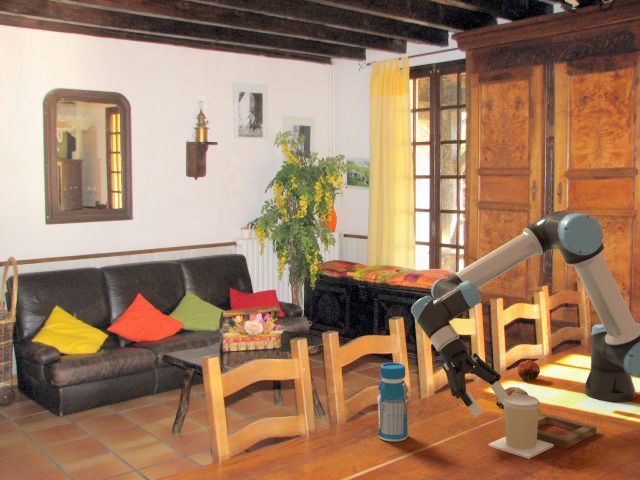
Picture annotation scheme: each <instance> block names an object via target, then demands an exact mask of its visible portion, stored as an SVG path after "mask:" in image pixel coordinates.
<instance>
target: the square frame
mask: <svg viewBox="0 0 640 480" xmlns="http://www.w3.org/2000/svg"><path fill="white" fill-rule="evenodd" d="M545 425H550V426H551V425H552V426H555V427H558V428H562V429H566V430H569V431H571V432H568V433H567V434H565V435H559V434H556V433H552V432H549V431H545V430H542V429H538V430H537V440H541V441H544V442H547V443H551V444H554V447H555V446H556V447H559V448H563V449H568V448H570V447H573V446H575V445H576V444H578V443H581V442H582V441H584V440H587V439H588V438H590V437H592V436H594V435H597V425H593V424H588V423H585V422H581V421H577V420H574V419H569V418H566V417H562V416H558V415H553V414H551V413H546V412H542V413H539V419H538V428H540V427H543V426H545Z"/></svg>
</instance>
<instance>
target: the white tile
mask: <svg viewBox="0 0 640 480" xmlns="http://www.w3.org/2000/svg"><path fill="white" fill-rule="evenodd" d="M488 447H490V448H492V449H497V450H499V451H503V452H506V453H509V454H512V455H516V456H518V457H522V458H524V459H527V460H529V459H531V458H534V457H535V456H538V455H540V454H541V453H544V452H545V451H548V450H551V448H552V449H553V448H554V447H555V445H554V444H551V443H547V442H544V441H541V440H537V441H536V446H535V447H534V448H532V449H516V448H512V447H510V446H508V445H507V444H506V437H505V436H503V437H501V438H499V439H496V440H495V441H492V442H489V443H488Z"/></svg>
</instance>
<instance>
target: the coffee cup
mask: <svg viewBox="0 0 640 480" xmlns="http://www.w3.org/2000/svg"><path fill="white" fill-rule="evenodd" d="M503 404H504V410H503V420H504V435H505V436H504V437H506V444H507V445H508V446H510V447H512V448H516V449H532V448H534V447H535V446H536V441H537V430H539V429H538V428H539V427H538V419H539V415H540V406H541V403H540V401H539V399H538V398H537V397H535V396H532V395H529V394H528V395H520V394H516V395H509V396H506V397H505V398H504V400H503Z"/></svg>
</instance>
